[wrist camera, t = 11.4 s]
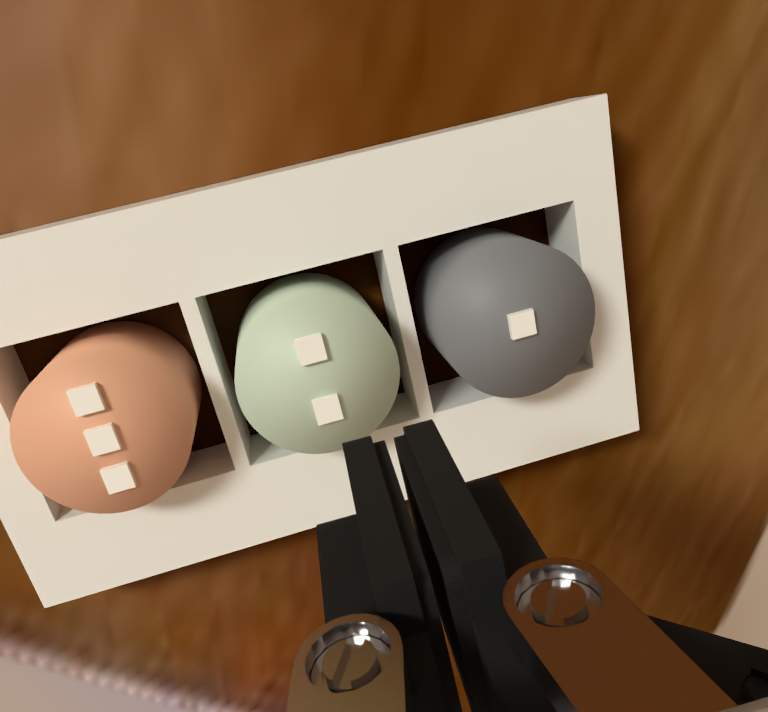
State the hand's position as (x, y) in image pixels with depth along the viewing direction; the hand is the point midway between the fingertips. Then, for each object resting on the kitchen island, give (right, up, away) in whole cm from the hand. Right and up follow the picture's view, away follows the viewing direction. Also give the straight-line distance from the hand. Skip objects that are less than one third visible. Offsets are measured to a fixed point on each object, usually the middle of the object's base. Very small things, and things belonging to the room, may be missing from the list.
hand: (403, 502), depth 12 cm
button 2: (-3, +3, +12) cm, 13 cm away
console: (-3, +3, +12) cm, 13 cm away
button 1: (+3, +5, +13) cm, 14 cm away
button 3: (-9, +1, +11) cm, 15 cm away
